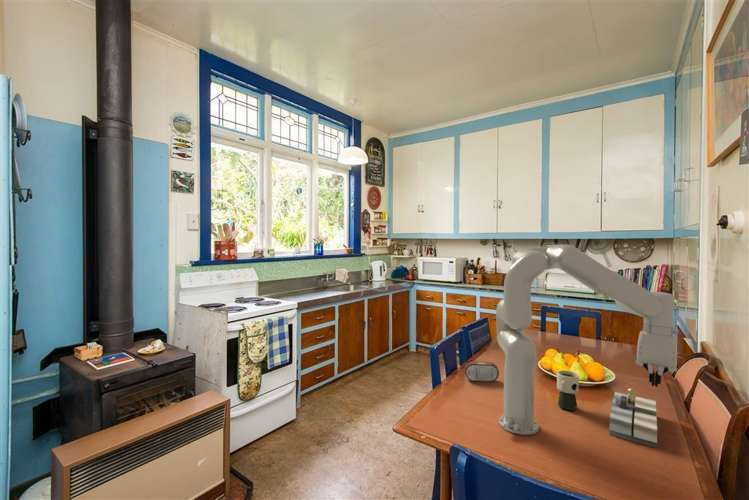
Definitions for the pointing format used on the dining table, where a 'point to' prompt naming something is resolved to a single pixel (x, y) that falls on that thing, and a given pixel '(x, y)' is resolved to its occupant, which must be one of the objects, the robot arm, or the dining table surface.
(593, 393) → the dining table surface
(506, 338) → the robot arm
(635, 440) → the lock board
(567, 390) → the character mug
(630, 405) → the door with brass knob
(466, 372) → the tin
